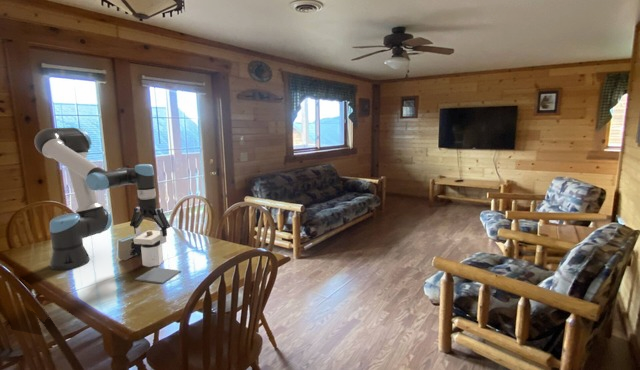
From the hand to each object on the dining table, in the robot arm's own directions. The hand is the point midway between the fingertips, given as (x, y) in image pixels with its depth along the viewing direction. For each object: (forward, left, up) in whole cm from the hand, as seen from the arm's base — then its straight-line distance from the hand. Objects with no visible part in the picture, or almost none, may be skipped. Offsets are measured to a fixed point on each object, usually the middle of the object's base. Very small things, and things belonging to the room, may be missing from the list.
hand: (151, 241), depth 163 cm
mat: (+12, -11, -11) cm, 19 cm away
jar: (0, 0, -11) cm, 11 cm away
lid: (0, 0, +1) cm, 1 cm away
